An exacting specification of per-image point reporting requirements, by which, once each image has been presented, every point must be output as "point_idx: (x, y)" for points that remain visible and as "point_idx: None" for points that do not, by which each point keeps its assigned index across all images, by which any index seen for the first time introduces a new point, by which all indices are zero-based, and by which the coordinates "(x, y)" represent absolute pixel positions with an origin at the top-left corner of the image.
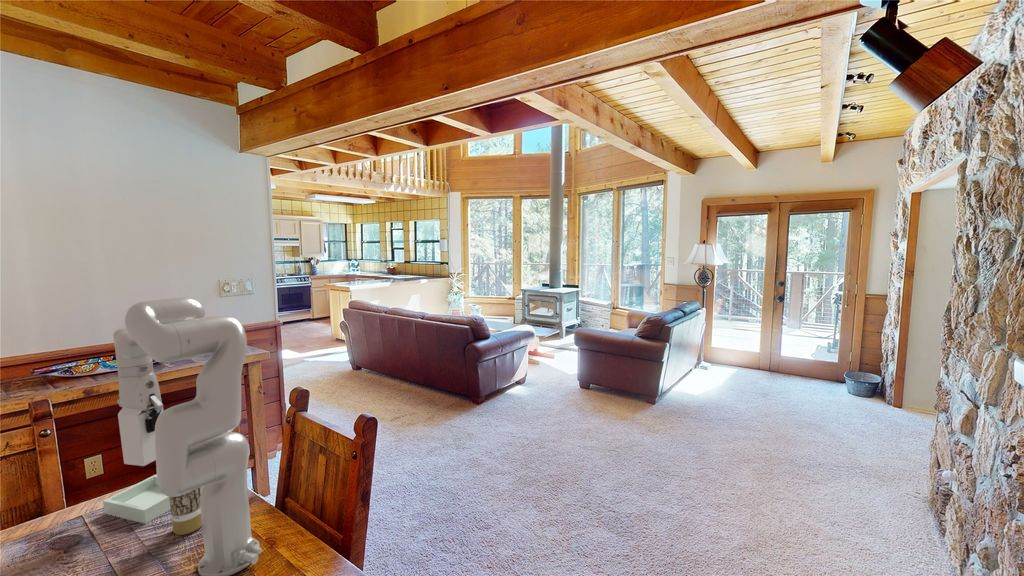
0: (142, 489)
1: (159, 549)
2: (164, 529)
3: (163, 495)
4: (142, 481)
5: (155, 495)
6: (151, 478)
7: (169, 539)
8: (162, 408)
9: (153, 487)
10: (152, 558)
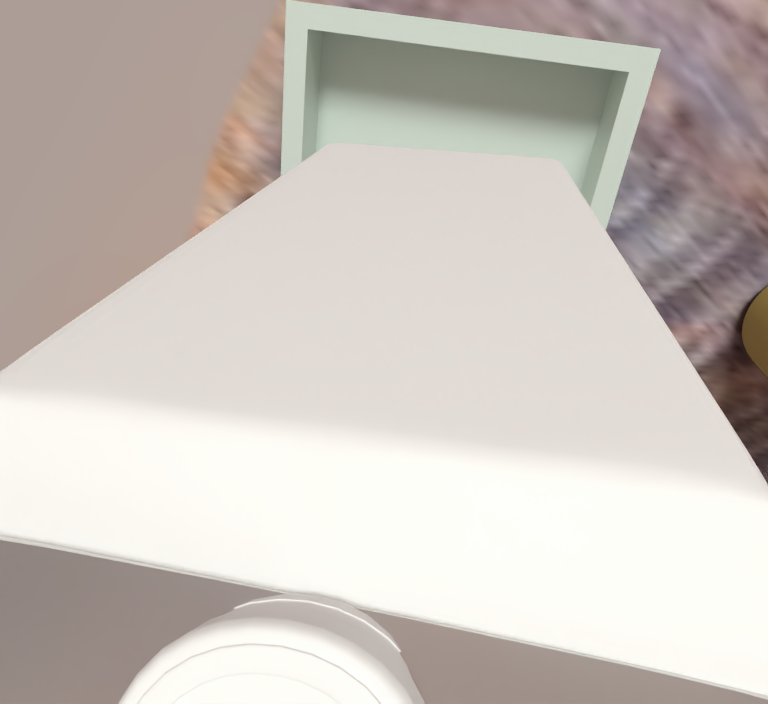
0: (313, 112)
1: (755, 435)
2: (683, 336)
3: (470, 122)
4: (288, 99)
5: (422, 128)
6: (306, 51)
7: (757, 387)
8: (748, 476)
9: (330, 52)
10: (762, 473)
